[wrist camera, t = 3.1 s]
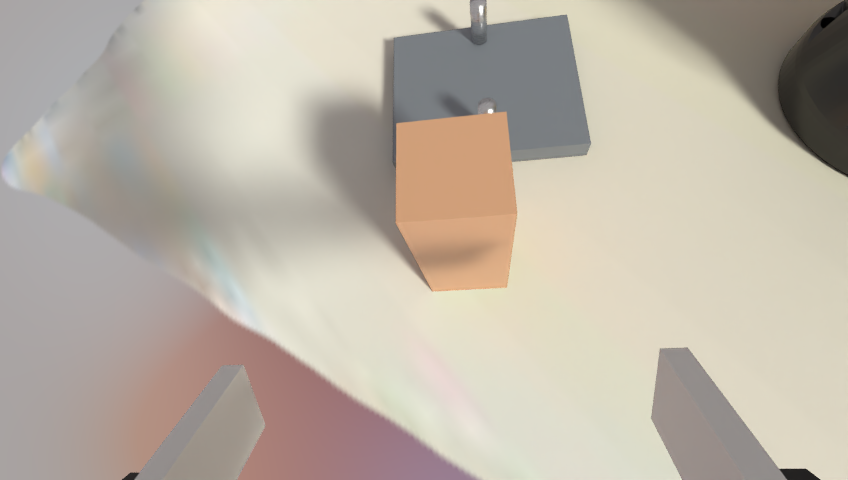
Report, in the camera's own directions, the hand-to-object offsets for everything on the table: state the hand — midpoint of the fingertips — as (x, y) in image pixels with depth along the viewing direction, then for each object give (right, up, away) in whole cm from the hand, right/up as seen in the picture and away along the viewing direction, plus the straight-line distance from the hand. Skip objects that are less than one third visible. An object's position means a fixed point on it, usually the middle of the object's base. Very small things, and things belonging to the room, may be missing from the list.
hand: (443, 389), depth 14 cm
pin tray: (+4, +16, +20) cm, 26 cm away
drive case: (+2, +4, +16) cm, 16 cm away
